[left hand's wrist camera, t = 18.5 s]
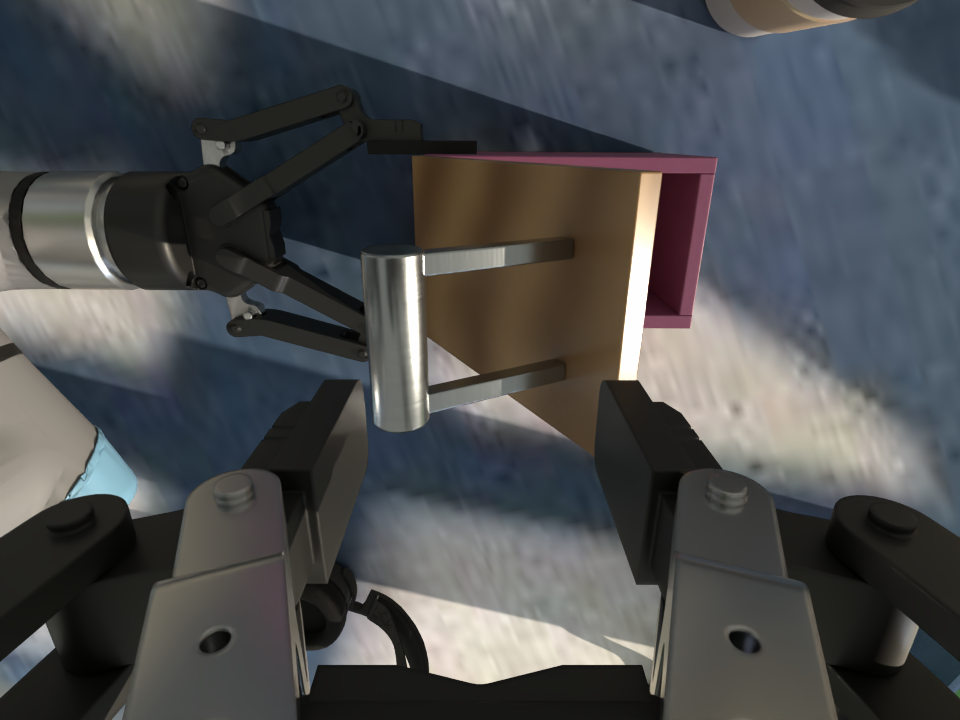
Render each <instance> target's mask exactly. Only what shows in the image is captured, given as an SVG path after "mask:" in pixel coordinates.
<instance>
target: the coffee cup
mask: <svg viewBox="0 0 960 720" xmlns="http://www.w3.org/2000/svg"><path fill="white" fill-rule="evenodd" d="M705 1H706V5H707V8H708V10H709V12H710V14H711V16H712V17H713V19H714V20H715V22H716V23H717V24H718V25H719V26H720V27H721V28H723V29H724V30H725V31H727V32H729V33H731V34H733V35H736V36H741V37H755V36H760V35H765V34H770V33H785V32H791V31H797V30H803V29H808V28H814V27H819V26H825V25H830V24H836V23H842V22H847V21H851V20H854V19H867V18H876V17H881V16H885V15H889V14H892V13H895V12H897V11H900V10H902V9H904V8H906V7H908V6H910V5H912V4H913V3H915V2H917V1H919V0H705Z"/></svg>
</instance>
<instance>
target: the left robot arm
mask: <svg viewBox="0 0 960 720" xmlns="http://www.w3.org/2000/svg"><path fill="white" fill-rule="evenodd" d="M594 455H595V466H596V471H597V474H598V477H599V480H600V483H601V486H602V488H603V491H604V494H605V497H606V500H607V503H608V505H609V508H610V511H611V514H612V517H613V520H614V522H615V525H616V528H617V531H618V534H619V537H620V539H621V542H622V545H623V548H624V551H625V554H626V556H627V559H628V562H629V565H630V568H631V571H632V573H633V576H634V579H635V582H636V585H658V586H659V588H660V591H661V598H660V604H659V610H658V618H657V628H656V637H655V646H654V656H653V665H652V674H651V683H650V684H649V686H648V683H647V680H646V676H645V673H644V670H643V667H642V665H561V666H557V667H553V668H549V669H545V670H541V671H537V672H533V673H529V674H524V675H520V676H516V677H512V678H508V679H504V680H500V681H496V682H492V683H488V684H472V683H468V682H464V681H460V680H456V679H452V678H448V677H444V676H440V675H436V674H431V673H427V672H423V671H419V670H415V669H411V668H407V667H403V666H399V665H318V667H317V670H316V673H315V676H314V680H313V683H312V686H311V689H310V684H309V674H308V665H307V656H306V646H305V637H304V628H303V618H302V610H301V604H300V598H301V595H302V593H303V590H304V588H305V585H306V584H327V583H328V580H329V577H330V574H331V571H332V569H333V566H334V563H335V560H336V557H337V554H338V551H339V548H340V545H341V543H342V540H343V537H344V534H345V531H346V528H347V525H348V522H349V519H350V516H351V514H352V511H353V508H354V505H355V502H356V499H357V496H358V493H359V490H360V487H361V485H362V482H363V479H364V476H365V473H366V469H367V463H368V437H367V425H366V414H365V402H364V392H363V386H362V382H361V380H325V381H324V382H323V383H322V385H321V386H320V388H319V389H318V391H317V393H316V394H315V396H314V397H313V399H312V400H311V402H298V403H297V404H295V405H294V406H292V407H290V408H289V409H287V410H286V411H284V412H282V413H281V415H280V416H279V418H278V419H277V420H276V422H275V423H274V424H273V426H272V429H270V430H269V431H268V433H267V434H266V435H265V437H264V440H262V441H261V442H260V444H259V445H258V446H257V448H256V449H255V450H254V452H253V453H252V455H251V456H250V457H249V459H248V460H247V461H246V463H245V464H244V466H243V467H242V468H241V469H239V470H233V471H229V472H226V473H222V474H219V475H217V476H215V477H212V478H210V479H208V480H206V481H205V482H203V483H202V484H200V485H199V486H197V487H196V488H195V489H194V490H193V491H192V492H191V493H190V494H189V496H188V498H187V500H186V503H185V509H182V510H178V511H174V512H169V513H163V514H158V515H153V516H148V517H143V518H138V519H132V518H131V515H130V511H129V508H128V504H127V502H126V501H125V500H124V499H123V498H121V497H119V496H116V495H112V494H93V495H86V496H81V497H77V498H73V499H69V500H66V501H64V502H61V503H58V504H56V505H53V506H51V507H49V508H47V509H45V510H43V511H41V512H39V513H38V514H36V515H34V516H33V517H31V518H30V519H28V520H27V521H25V522H23V523H22V524H20V525H19V526H17V527H16V528H14V529H13V530H11V531H10V532H8V533H7V534H5V535H3V536H2V537H0V661H2V660H3V659H4V658H5V657H6V656H7V655H9V654H10V653H11V652H12V651H13V650H14V649H16V648H17V647H18V646H19V645H20V644H21V643H23V642H24V641H25V640H26V639H27V638H28V637H30V636H31V635H32V634H33V633H34V632H35V631H37V630H38V629H39V628H40V627H41V626H42V625H44V624H45V623H46V625H47V628H48V630H49V633H50V635H51V638H52V640H53V643H54V645H55V649H53V650H52V651H51V652H50V653H49V654H48V655H47V656H46V657H45V658H44V659H43V660H41V661H40V662H39V663H38V664H37V665H36V666H35V667H34V668H33V669H32V670H31V671H29V672H28V673H27V674H26V675H25V676H24V677H23V678H22V679H21V680H20V681H18V682H17V683H16V684H15V685H14V686H13V687H12V688H11V689H10V690H9V691H8V692H6V693H5V694H4V695H3V696H2V697H1V698H0V720H112V718H113V717H114V716H115V715H116V714H117V713H118V711H119V710H120V709H121V708H122V707H123V706H124V704H125V703H126V705H125V709H124V714H123V718H122V720H960V698H959V697H958V696H957V695H956V694H955V693H954V692H952V691H951V690H950V689H949V688H948V687H947V686H946V685H945V684H944V683H943V682H942V681H940V680H939V679H938V678H937V677H936V676H935V675H934V674H933V673H932V672H931V671H930V670H928V669H927V668H926V667H925V666H924V665H923V664H922V663H921V662H920V661H919V660H917V659H916V658H915V657H914V656H913V655H912V654H911V653H910V652H909V651H910V648H911V646H912V643H913V641H914V638H915V636H916V633H917V631H918V628H919V627H920V628H921V629H922V630H923V631H925V632H926V633H927V634H928V635H929V636H930V637H932V638H933V639H934V640H935V641H936V642H937V643H939V644H940V645H941V646H942V647H943V648H944V649H946V650H947V651H948V652H949V653H950V654H951V655H953V656H954V657H955V658H956V659H957V660H959V661H960V537H958V536H957V535H955V534H953V533H952V532H950V531H949V530H947V529H946V528H944V527H943V526H941V525H940V524H938V523H937V522H935V521H934V520H932V519H930V518H929V517H927V516H926V515H924V514H922V513H920V512H918V511H916V510H914V509H912V508H910V507H908V506H905V505H903V504H900V503H897V502H894V501H891V500H887V499H884V498H879V497H874V496H865V495H855V496H848V497H844V498H842V499H840V500H838V501H837V502H836V504H835V506H834V509H833V513H832V516H831V520H827V519H822V518H817V517H812V516H807V515H801V514H796V513H791V512H787V511H782V510H779V509H776V508H775V503H774V500H773V498H772V496H771V494H770V493H769V492H768V491H767V490H766V489H765V488H764V487H763V486H761V485H760V484H758V483H757V482H755V481H754V480H752V479H750V478H748V477H745V476H743V475H741V474H738V473H734V472H731V471H727V470H723V469H722V468H721V466H720V465H719V464H718V462H717V461H716V460H715V458H714V457H713V456H712V454H711V453H710V451H709V450H708V449H707V447H706V446H705V445H704V443H703V442H702V441H701V440H699V437H698V435H697V434H696V433H695V431H694V430H693V429H691V426H690V424H689V423H688V422H687V420H686V419H685V418H684V416H683V415H682V414H681V413H680V412H678V411H677V410H675V409H674V408H672V407H670V406H669V405H667V404H665V403H664V402H652V400H651V399H650V397H649V396H648V394H647V393H646V391H645V390H644V388H643V387H642V385H641V384H640V382H639V381H638V380H603V381H602V382H601V385H600V390H599V400H598V411H597V423H596V434H595V446H594Z"/></svg>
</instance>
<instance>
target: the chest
mask: <svg viewBox="0 0 960 720" xmlns="http://www.w3.org/2000/svg"><path fill="white" fill-rule="evenodd" d="M421 156H442V157H457V158H472V159H486V160H501V161H516V162H531V163H546V164H561V165H576V166H591V167H606V168H621V169H636V170H651V171H661V172H662V181H661V189H660V197H659V205H658V213H657V221H656V229H655V237H654V245H653V253H652V260H651V268H650V276H649V284H648V292H647V300H646V308H645V316H644V324H643V328H690V327H691V321H692V314H693V307H694V301H695V295H696V289H697V282H698V276H699V270H700V264H701V257H702V251H703V245H704V239H705V232H706V226H707V220H708V214H709V207H710V201H711V195H712V189H713V182H714V176H715V174H713V173H715V171H716V165H717V157H706V156H693V155H679V154H666V153H644V152H502V151H477V154H425V155H421Z"/></svg>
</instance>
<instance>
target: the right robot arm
mask: <svg viewBox="0 0 960 720" xmlns="http://www.w3.org/2000/svg"><path fill="white" fill-rule="evenodd" d="M339 114H340V115H341V118H342V120H343V123H344V125H342V126H341V127H339V128H338V129H336V130H334V131H333V132H331V133H330V134H328V135H327V136H325V137H324V138H322V139H320V140H319V141H317V142H316V143H314V144H313V145H311V146H310V147H308V148H307V149H305V150H303V151H302V152H300V153H299V154H297V155H296V156H294V157H293V158H291V159H289V160H288V161H286V162H285V163H283V164H282V165H280V166H279V167H277V168H276V169H274V170H272V171H271V172H269V173H268V174H266V175H264V176H262V177H260V178H258V179H256V180H255V181H253V182H252V183H251V182H249V181H248V180H246V179H245V178H243V177H242V176H241V175H239V174H238V173H236V172H235V171H233V170H232V169H230V168H229V167H227V166H226V160H227V158H228V157H229V156H231V155H236V154H238V153H239V152H240V150H241V142H247V141H255V140H259V139H263V138H266V137H269V136H272V135H275V134H279V133H282V132H285V131H288V130H291V129H295V128H298V127H301V126H304V125H307V124H311V123H314V122H317V121H320V120H323V119H326V118H330V117H333V116H336V115H339ZM191 129H192V132H193V134H194V135H195V136H196V137H197V138H198V139H201V145H202V154H203V163H204V165H202V166H200V167H199V168H197V169H196V170H194V171H192V172H127V173H125V174H122V173H120V172H108V171H52V172H38V173H36V172H3V171H0V292H1V291H7V290H16V289H101V290H134V289H138V288H142V289H145V290H210V291H213V292H216V293H218V294H220V295H222V296H225V297H227V302H228V306H229V310H230V314H231V318H232V320H231V321H230V322H229V323H228V324H227V331H228V333H229V334H230V335H232V336H234V337H246V336H265V337H269V338H273V339H277V340H281V341H284V342H288V343H292V344H296V345H300V346H303V347H307V348H311V349H315V350H319V351H322V352H326V353H330V354H334V355H338V356H342V357H345V358H349V359H353V360H357V361H361V362H365V361H368V350H367V337H366V323H365V310H364V303H363V302H361V301H360V300H358V299H356V298H354V297H352V296H350V295H348V294H346V293H344V292H343V291H341V290H339V289H337V288H335V287H333V286H331V285H329V284H328V283H326V282H324V281H322V280H320V279H318V278H316V277H314V276H313V275H311V274H309V273H307V272H305V271H303V270H301V269H300V268H299V266H298V265H297V264H295V263H293V262H291V261H289V260H288V259H286V258H284V257H283V255H284V254H286V251H285V243H284V240H283V237H282V235H281V232H280V225H281V211H280V207H277V206H276V204H275V202H274V200H276V199H277V198H279V197H280V196H282V195H284V194H285V193H287V192H288V191H290V189H292V188H293V187H295V186H296V185H298V184H300V183H301V182H303V181H304V180H306V179H308V178H309V177H311V176H312V175H314V174H315V173H317V172H319V171H320V170H322V169H323V168H325V167H327V166H328V165H330V164H331V163H333V162H334V161H336V160H338V159H339V158H341V157H342V156H344V155H345V154H347V153H349V152H350V151H352V150H353V149H355V148H357V147H358V146H360V145H361V144H363V143H364V142H366V141H367V146H368V154H477V141H423V124H421V123H419V122H416V121H414V120H373V119H371V118H369V117H368V116H367V115H366V113H365V111H364V109H363V106H362V104H361V100H360V96H359V94H358V93H357V92H356V91H355V90H353V89H351V88H349V87H346V86H343V85H339V86H335V87H332V88H329V89H326V90H323V91H320V92H317V93H313V94H310V95H307V96H304V97H301V98H298V99H295V100H291V101H288V102H285V103H282V104H279V105H276V106H273V107H269V108H266V109H263V110H260V111H257V112H254V113H251V114H247V115H244V116H241V117H238V118H235V119H232V120H220V119H207V118H196V119H195V120H194V121H193V122H192V124H191ZM257 283H258V284H260V285H262V286H264V287H266V288H268V289H270V290H272V291H274V292H281V293H284V294H286V295H288V296H290V297H292V298H294V299H295V300H297V301H299V302H301V303H303V304H305V305H307V306H309V307H311V308H313V309H315V310H317V311H319V312H320V313H322V314H324V315H326V316H328V317H330V318H332V319H334V320H336V321H338V322H340V323H342V324H344V325H346V326H347V327H349V328H351V329H349V328H345V327H341V326H337V325H334V324H330V323H326V322H323V321H319V320H315V319H311V318H308V317H304V316H300V315H297V314H293V313H289V312H285V311H281V310H276V309H265V306H264V304H263V303H260V302H258V301H253V300H251V299H250V298H248V296H247V294H246V291H248V290H249V289H250V288H251V287H253V286H254V285H255V284H257ZM352 329H353V330H352ZM136 491H137V479H136V476H135V474H134V473H133V471H132V470H131V469H130V468H129V466H128V465H127V464H126V463H125V461H124V460H123V459H122V458H121V456H120V455H119V454H118V453H117V451H116V450H115V449H114V448H113V446H112V445H111V444H110V443H109V441H108V440H107V439H106V438H105V436H104V434H103V432H102V430H101V429H100V428H98V427H97V426H96V425H92V424H91V423H90V422H89V421H88V420H87V419H86V418H85V417H84V416H83V415H82V414H81V413H80V412H79V411H78V410H77V409H76V408H75V407H74V406H73V405H72V404H71V403H70V402H69V401H68V400H67V399H66V398H65V397H64V396H63V395H62V394H61V393H60V392H59V391H58V390H57V389H56V387H55V386H54V385H53V384H52V383H51V382H50V381H49V380H48V379H47V378H46V377H45V376H44V375H43V374H42V373H41V372H40V371H39V370H38V369H37V368H36V367H35V366H34V365H33V364H32V363H31V362H30V361H29V360H28V359H27V358H26V357H25V356H24V355H23V353H22V351H21V350H20V349H19V348H18V347H17V346H16V345H15V344H14V342H13V341H12V340H11V339H10V338H9V337H8V336H7V335H6V334H5V333H4V332H3V331H2V330H1V329H0V537H2V536H3V535H5V534H7V533H8V532H10V531H11V530H13V529H14V528H16V527H17V526H19V525H20V524H22V523H23V522H25V521H27V520H28V519H30V518H31V517H33V516H34V515H36V514H38V513H39V512H41V511H43V510H45V509H47V508H49V507H51V506H53V505H56V504H58V503H61V502H64V501H66V500H69V499H73V498H77V497H81V496H86V495H93V494H112V495H116V496H119V497H121V498H123V499H124V500H125V501H126V502H127V504H128V505H129V503H130V502H131V501H132V499H133V498H134V496H135V493H136Z"/></svg>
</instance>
